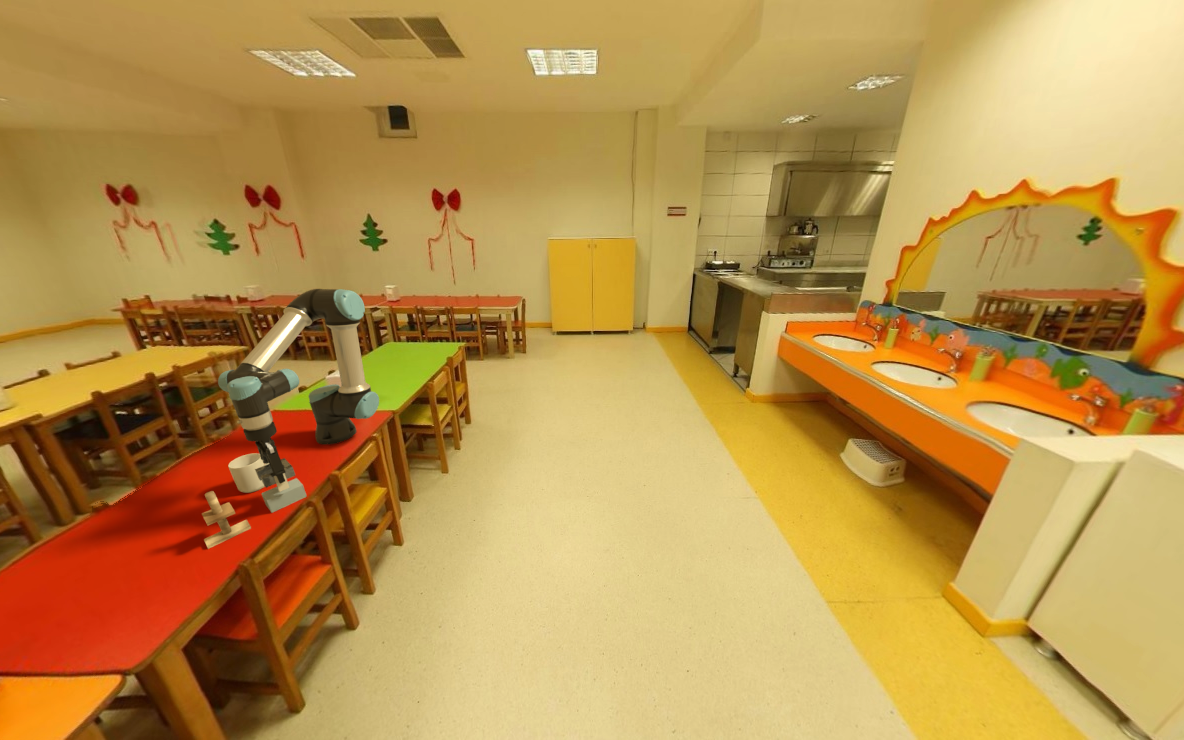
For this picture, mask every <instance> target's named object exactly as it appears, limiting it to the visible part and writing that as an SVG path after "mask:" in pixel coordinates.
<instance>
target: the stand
mask: <svg viewBox="0 0 1184 740" xmlns="http://www.w3.org/2000/svg"><path fill="white" fill-rule="evenodd" d="M204 496H205V499H206V501H207V504H208V506H209V507H210V509H209V510H207V511H204V512H202V513H201V516H202V517H203V520H204V521H205V523H206V525H207V526H210V525H213V524H215V523H217V524H218V526H219V529H220V531H218V532H216V533H214V534H212V535H210V536H208V537H206V538H204V539H203V541H204V543H205V545H206V548H207V549H208V550H209V549H210V548H213V547H215V546H217V545H219V544H222V543H224V542H225V541H228V540H230V539H232V538H234V537H236V536H238V535H241V534H243V533H244V532H247V531H249V530H251V529H252V526H251V524H250V523H249V521H248V519H245V520H242V521H240V522H237V523H236V524H234V525H232V526H230V523H229V521H228V519H227V518H228V517H230V516H233V515H236V511H235V509H234V508H233V506H232V504H231V503H230V501H229V502H226V503H223V504H220V502H219V499H218V497H217V495H216V493H215V492H214V490H211V491H207V492H206V493H205V494H204Z"/></svg>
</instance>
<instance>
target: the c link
mask: <svg viewBox="0 0 1184 740" xmlns="http://www.w3.org/2000/svg"><path fill="white" fill-rule="evenodd" d="M280 459H281V462H282V464H283V467H284V470H285V472H286V473H285V476H286V479H287V480H289V479H290V478H293V477H295V476H296V472H295V470H294V467H293V465H292V464H291V463H290V462H289V461H288V460H287V459H286V458H280ZM255 471H256V473H257V476H258V478H259V480H260V481H261V480H262V482H263V484H264V486H265V487H264V488H266V489H267V488H269V487H271V486H273V485H277V484H276V482H275V479H274V477H272V476H271V475H273V471H272V469H271V467H270V464H268V465H265V466H262V467H260V468H257V469H255Z"/></svg>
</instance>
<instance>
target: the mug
mask: <svg viewBox="0 0 1184 740" xmlns="http://www.w3.org/2000/svg"><path fill="white" fill-rule="evenodd" d="M265 464H266V463H265ZM265 464H264V463H263V460H261V457H260V454H259V453H257V452H256V453H248V454H245V455H244V454H243V455H241V456H238V457H236V458H234V459H233V460H231V461H230V462H229V463H228V469H229V472H230V474H231V476H232V479H233V481H234V483H235V485H236V487H237V488H236V489H237V490H238V491H239V492H241V493H245V494H247V493H253V492H254V493H255V492H257V491H260V490H262V489H264V488H266V487H265V486H264V484H263V482H262V480H261V481H260V480H259V478H258V476H257V473H256V471H255V469H257V468H260V467H262V466H265Z"/></svg>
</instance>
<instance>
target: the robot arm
mask: <svg viewBox="0 0 1184 740" xmlns="http://www.w3.org/2000/svg"><path fill="white" fill-rule="evenodd" d="M365 312H366V309H365V304H364V301H363V299H362V297H361V296H360V295H359V294H358V293H357V292H356V291H354V290H349V289H344V288H343V289H342V288H341V289H339V288H334V289H333V288H331V289H330V288H327V289H326V288H313V289H309V290H306V291H305V292H302V293H301V294H299V295H298V296H296V297H295V298H294V299H293V300H292V301H290V302H289V303H288V304H287V306H286V307H285V308H284V309H283V314H282V316H281V317H280V318H279V319H278V321H277V322H276V323H275V324H274V325H273V326H272V327H271V329H269V330H268V332H267V333H266V334H265V335H264V336H263V338H262V339H261V340H260V341H259V342H258V343H257V344H256V345H255V346H254V348H253V349H252V350H251V351H250V352H249V354H247V356H246V357H245V358H244V359H243V360H242V361H241V363H240V364H239V365H238V366H237V367H236V368H235V369H229V370H225V371H224V372H222V373H221V374H219V376H218V379H217V385H218V386H219V388H220V389H221V391H224V392H226V393H228V396H229V399H230V401H231V403H232V405H233V408H234V410H235V413H236V414H237V416H238V417H237V418H238V419H239V420H236V422H237V424H240V426H241V428H242V429H243V430H242V431H243V434H244V436H245V438H246V440H247V441H249V442H255V443H254V444H255V445H256V448H257V451H258V454H260V457H261V460H263V463H264V464H265V463H266V464H265V465H268V464H270V467H271V469H272V471H273V475H271V476H272V477H274V479H275V482H276V484H275V485H276V487H278V490H279V492H281V491H283V490H285V489H287V488H290V487H289V484H288V482H289V481H288V479H286V476H285V473H286V472H285V470H284V467H283V464H282V462H281V459H282V458H281V457H280V454H279V452H278V448H277V446H276V443H275V441H274V439H272V437H273V436H274V435H276V434H277V432H278V431H277V427H276V424H275V422H274V419H273V415H272V412H271V409H270V407H269V404H268V403H269V402H270V401H272V400H274V399H276V398H278V397H280V396H283V395H285V394H287V393H290V392H291V391H293V390H295V389H296V388H297V387H299V385H300V378H299V376H298V374H297V373H296V372H295V371H294V370H292V369H289V368H282V369H278V370H276V371H274V372H273V371H271V369H272V367H274V366H275V364H276V363H277V362H278V360H279V359H280V358H281V357H282V356H283V354H284V353H285V352H286V351H287V350H288V348H289V347H290V346H291V344H292V343H293V342H294V341H295V340H296V338H297V337H298V336H299V335H300V334H301V332H302V331H303V330H304V328H305V327H309V326H311V325H312V324H313V323H314V321H317V320H320V319H321V320H323V319H324V323H325V326H326V327H328V328H329V329H330V330H331V331H330V332H331V335H332V341H333V346H334V352H335V356H336V362H337V369H338V372H339V378H340V383H341V386H340V385H339V384H333V383H332V384H328V385H324V386H320V387H317V388H315V389H314V390H312V391H310V393H309V394H308V400H309V402H308V403H309V405H310V409H311V411H312V415H313V418H314V420H315V423H316V425H315V426H316V428H315V436H314V437H315V441H316V442H317V443H318V444H319V445H322V446H323V445H334V444H339V442H340V443H342V441H343V442H345V441H347V440H349V439H351V438H352V437H354V436H355V435H354V434H356V433H357V428H356V425H355V424H354V422H353V421H352V419H356V420H361V419H362V420H366V419H369V418H371V417H373V416H374V414H375V413H376V412H377V410H378V407H379V404H380V397H379V395H378V393H376V391H372V388H371V384H369V383H367V382H366V376H365V371H364V365H363V360H362V354H361V348H360V347H361V346H360V342H359V341H360V340H359V335H358V329H357V328H358V325H360V324H361V321H360V320H362V319H363V317H364V313H365ZM270 371H271V372H270ZM353 435H354V436H353ZM350 437H351V438H350ZM344 440H345V441H344Z"/></svg>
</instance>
